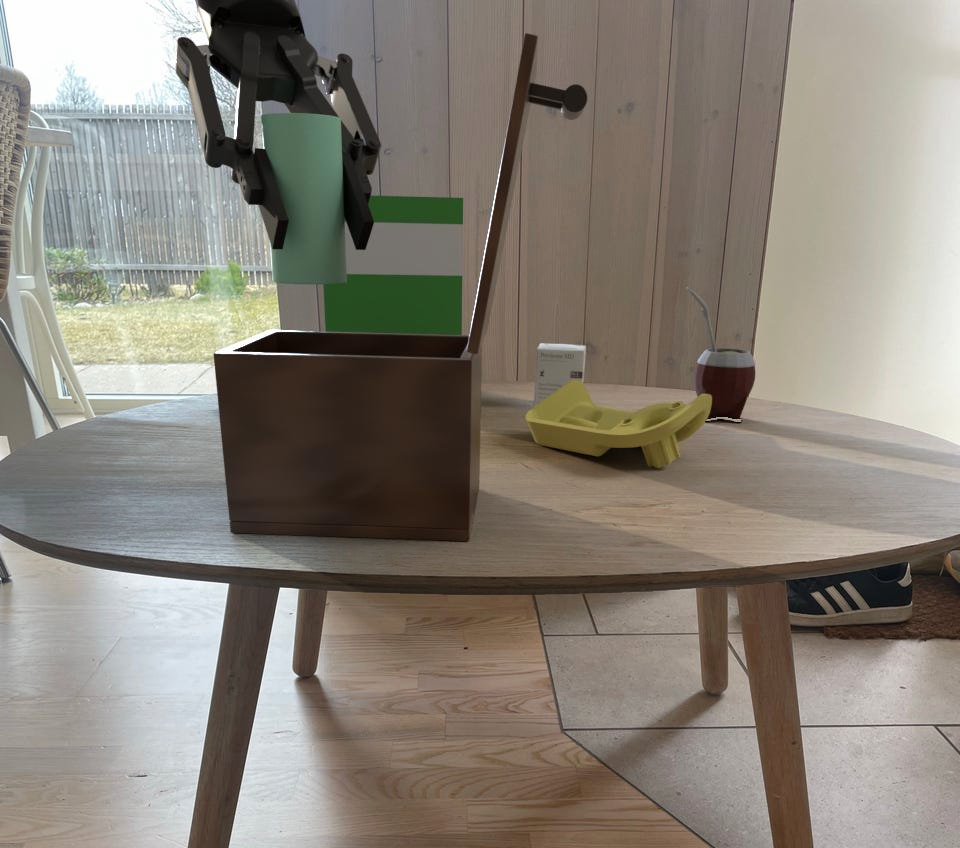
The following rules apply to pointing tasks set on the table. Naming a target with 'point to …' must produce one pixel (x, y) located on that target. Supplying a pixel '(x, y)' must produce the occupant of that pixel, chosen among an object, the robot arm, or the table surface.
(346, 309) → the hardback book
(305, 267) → the green cylinder
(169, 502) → the table surface
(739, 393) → the mate gourd
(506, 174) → the lid
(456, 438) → the chest
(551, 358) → the product carton
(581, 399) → the plastic component
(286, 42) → the robot arm
